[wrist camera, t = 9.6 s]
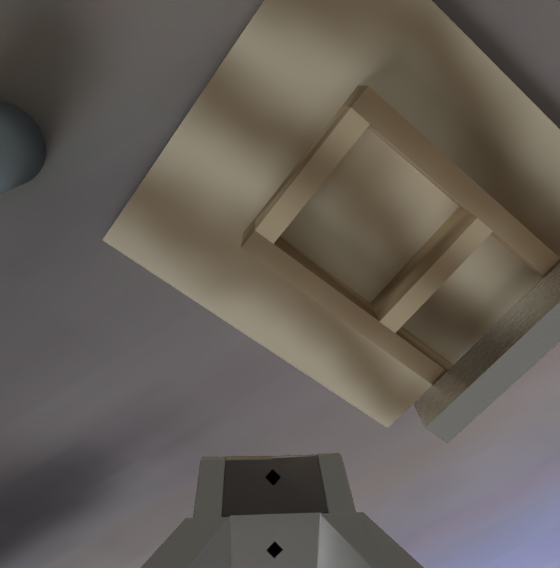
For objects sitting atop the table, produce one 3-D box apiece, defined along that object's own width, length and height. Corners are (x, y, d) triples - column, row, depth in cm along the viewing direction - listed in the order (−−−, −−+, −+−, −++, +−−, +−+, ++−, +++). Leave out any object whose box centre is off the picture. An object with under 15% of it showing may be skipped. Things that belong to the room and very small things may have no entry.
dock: (384, 419, 34) (397, 454, 31) (107, 235, 28) (88, 254, 25) (615, 193, 28) (660, 207, 25) (329, -93, 23) (340, -122, 19)
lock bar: (439, 418, 30) (459, 455, 27) (402, 392, 29) (418, 427, 26) (626, 244, 26) (673, 265, 23) (589, 209, 25) (633, 225, 22)
